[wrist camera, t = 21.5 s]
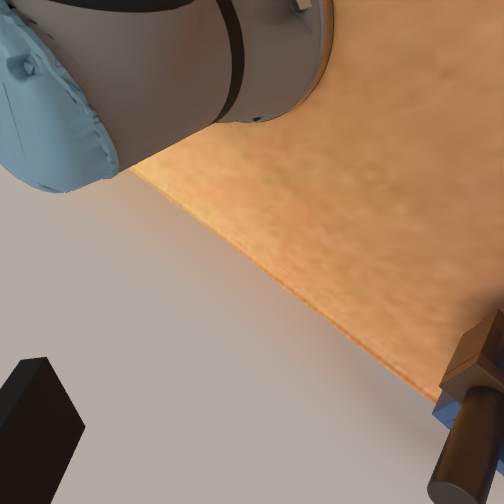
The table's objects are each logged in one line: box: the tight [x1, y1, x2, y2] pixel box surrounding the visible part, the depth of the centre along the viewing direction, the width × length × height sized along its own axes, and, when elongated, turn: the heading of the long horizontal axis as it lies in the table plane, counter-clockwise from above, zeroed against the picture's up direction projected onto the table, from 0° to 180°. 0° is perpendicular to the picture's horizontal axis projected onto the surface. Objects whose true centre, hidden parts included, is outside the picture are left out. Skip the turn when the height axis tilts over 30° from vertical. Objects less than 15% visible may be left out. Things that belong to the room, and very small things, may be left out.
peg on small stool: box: [427, 310, 504, 504], centre depth 31 cm, size 5×4×14 cm
